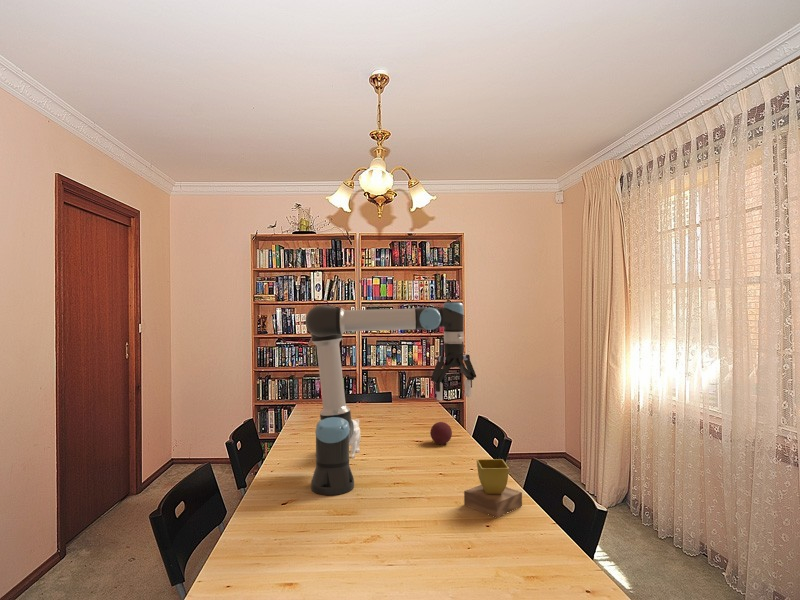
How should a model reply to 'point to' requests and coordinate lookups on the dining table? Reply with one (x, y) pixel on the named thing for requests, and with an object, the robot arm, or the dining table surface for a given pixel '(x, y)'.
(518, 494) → the walnut block
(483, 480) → the flower pot
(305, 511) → the dining table surface
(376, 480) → the dining table surface
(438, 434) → the decorative ball
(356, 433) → the cat figurine
